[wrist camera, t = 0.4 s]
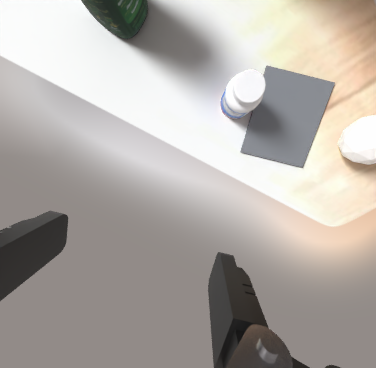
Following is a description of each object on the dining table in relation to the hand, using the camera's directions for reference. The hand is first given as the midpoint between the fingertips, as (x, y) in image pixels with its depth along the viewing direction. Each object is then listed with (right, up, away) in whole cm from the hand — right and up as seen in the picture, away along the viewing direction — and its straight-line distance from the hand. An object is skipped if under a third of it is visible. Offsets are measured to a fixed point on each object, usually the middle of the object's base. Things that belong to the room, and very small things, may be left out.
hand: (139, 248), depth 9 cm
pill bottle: (+11, +18, +23) cm, 31 cm away
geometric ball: (+32, +11, +24) cm, 42 cm away
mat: (+20, +15, +23) cm, 34 cm away
